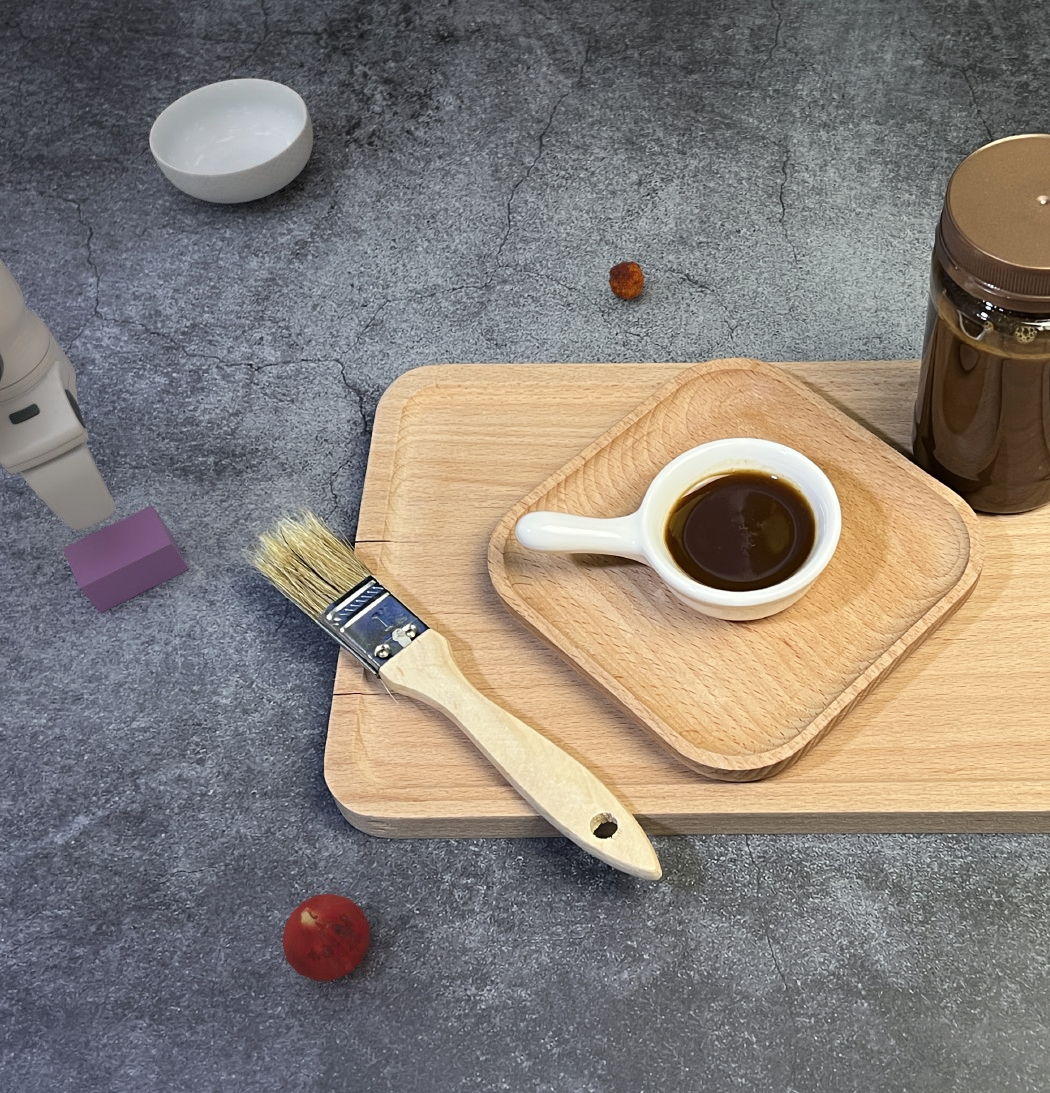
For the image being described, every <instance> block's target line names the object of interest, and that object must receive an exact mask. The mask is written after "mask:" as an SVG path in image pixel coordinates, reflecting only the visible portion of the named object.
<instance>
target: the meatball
mask: <svg viewBox="0 0 1050 1093" xmlns="http://www.w3.org/2000/svg"><path fill="white" fill-rule="evenodd" d="M608 274H609V277H610V278H609V279H608V283H609V287H610V289H611V292H612V293H613V294H614V295H616V297H617V298H621V299H625V300H631V299H634V298H636V297H637V296H639V294H641V293H642V290H643V289H644V285H645V282H644V280H645V276H644V274H643V271H642V268H641V265H640V264H639V263H638V262H635V261H621V262H619V263H617V264H616V265H614V266H612V267H611V268H610V269H609V273H608Z"/></svg>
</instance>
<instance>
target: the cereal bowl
mask: <svg viewBox="0 0 1050 1093" xmlns="http://www.w3.org/2000/svg"><path fill="white" fill-rule="evenodd" d="M148 140H149V142H148V143H149V147H150V148H149V149H150V150H151V153H152V156H153V158H154V160H155V161H156V163H157V166H158V167H159V168H160V170H161V172H162V173H163V174H164V175H165V176H164V177H166V178H167V179H168V180H169V182H170V183H171V184H173V185H174V187H175V188H177V189H179V190H180V191H181V192H184V194H186V195H189V196H191V197H194V198H195V199H199V200H202V201H206V202H209V203H215V204H218V203H219V204H238V203H246V202H251V201H255V200H259V199H262V198H264V197H267V196H269V195H272V194H274V193H276V192H277V191H279V190H281V189H283V188H284V187H285V186H287V185H288V184H290V183H291V182H292V181H294V179H295V178H296V177H298V176H299V174H300V173H301V172H302V171H303V169H304V168H305V167H306V165H307V162H308V161H309V159H310V157H311V155H312V151H313V147H314V129H313V125H312V119H311V115H310V112H309V108H308V106H307V105H306V102H305V101H304V99H303V98H302V96H301V95H300V94H299V93H298V92H296V91H295V90H294V89H292V88H291V87H289V86H287V85H285V84H283V83H280V82H276V81H273V80H270V79H269V80H268V79H264V78H263V79H262V78H235V79H227V80H223V81H218V82H214V83H211V84H207V85H204V86H201V87H199V88H197V89H194V90H192V91H190V92H188V93H186V94H185V95H182V96H181V97H179V98H178V99H176V100H175V101H173V102H172V103H171V104H170V105H169V106H167V107H166V108H165V109H164V110H163V111H162V112H161V113H160V114H159V116H158V117H157V118H156V119H155V121H154V122H153V125H152V126H151V129H150V132H149V139H148Z"/></svg>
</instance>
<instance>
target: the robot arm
mask: <svg viewBox="0 0 1050 1093" xmlns="http://www.w3.org/2000/svg"><path fill="white" fill-rule="evenodd" d="M76 383H77V374H76V369H75V367H74V365H73V363H72V362H71V360H70V358H69V357H68V355H67V354H66V353H65V352H64V350H63V347H61V345H60V344H59V342H58V341H57V339H56V338H55V336H54V334H52V332H51V331H50V329H49V327H48V326H47V324H46V323H45V322H44V321H43V319H42V318H41V317H40V316H39V315H37V313H35V312H33V311H32V310H31V309H30V308H29V307H28V306H27V304H26V302H25V297H24V293H23V290H22V288H21V285H20V284H19V282H17V280H16V279H15V277H14V276H13V274H12V273H11V271H10V270H9V268H8V267H7V265H6V264H5V263H4V261H3V260H2V259H1V258H0V465H1V466H2V467H3V468H4V469H5V471H6V472H7V473H8V474H10V475H15V474H17V473H19V474H20V476H21V477H22V479H24V481H25V482H26V484H27V485H28V486H29V487H30V488H31V490H32V491H33V492H34V493H35V494H36V495H37V496H38V497H39V498H40V499H41V500H42V502H43V503H44V504H45V505H47V507H48V508H49V509H50V510H51V511H52V512H53V513H54V514H55V515H56V516H57V517H58V518H59V519H60V520H61V522H63V523H64V524H65V525H66V526H67V527H68V528H70V529H71V530H75V531H84V530H86V529H89V528H92V527H93V526H95V525H98V524H100V523H102V522H104V521H106V520H107V519H110V518H111V517H113V516H114V515H115V514H116V512H117V506H116V503H115V502H114V499H113V496H112V495H111V493H110V491H109V488H108V486H107V484H106V482H105V480H104V479H103V476H102V474H101V472H100V470H99V468H98V466H97V464H96V462H95V460H94V457H93V455H92V453H91V451H90V448H89V446H88V443H87V441H88V440H89V437H90V436H89V433H88V431H87V426H86V424H85V421H84V418H83V416H82V412H81V409H80V406H79V401H78V392H77V391H78V389H77V386H76Z"/></svg>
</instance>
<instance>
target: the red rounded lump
mask: <svg viewBox="0 0 1050 1093" xmlns="http://www.w3.org/2000/svg"><path fill="white" fill-rule="evenodd" d="M282 936H283V937H282V949H283V952H284V956H285V959H286V961H287V963H288V964H289V965H290V966H291V967H292V968H293V969H294V971H295V972H296V973H297V974H298V975H300V976H301V977H305V978H308V979H311V980H314V981H316V982H332V981H334V980H337V979H340V978H342V977H344V976H348V975H349V974H350V973H351V972H352V971H353V970H354V969H355V968H357V967H358V966H359V965H360V964H361V963H362V962H363V961H364V958H365V956H366V954H367V952H368V951H369V948H370V943H371V942H370V941H371V927H370V924H369V922H368V919H367V917H366V915H365V912H364V911H363V910H362V908H361V907H360V906H358V905H357V904H356V903H355V901H352V900H351V899H350V897H349V898H348V897H346V896H341V895H337V894H335V893H324V894H314V895H313V896H312V897H309V898H308V899H306V900H304V901H302V902H301V903H300V904H299V905H298V906H297V907H296V908H295V909H294V910H293V911H292V912H291V913H290V915H289V918H288V919H287V921H286V923H285V925H284V929H283V935H282Z"/></svg>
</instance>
